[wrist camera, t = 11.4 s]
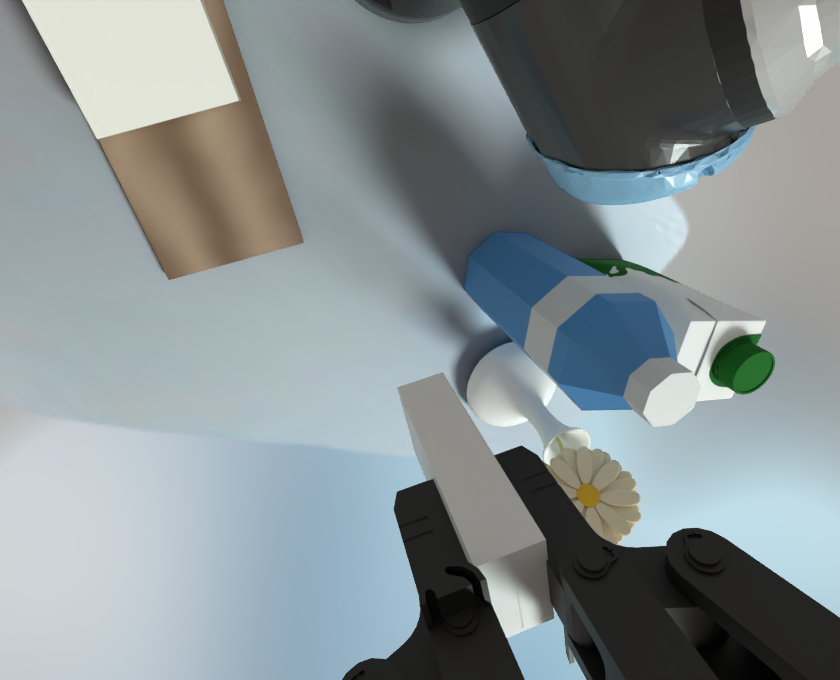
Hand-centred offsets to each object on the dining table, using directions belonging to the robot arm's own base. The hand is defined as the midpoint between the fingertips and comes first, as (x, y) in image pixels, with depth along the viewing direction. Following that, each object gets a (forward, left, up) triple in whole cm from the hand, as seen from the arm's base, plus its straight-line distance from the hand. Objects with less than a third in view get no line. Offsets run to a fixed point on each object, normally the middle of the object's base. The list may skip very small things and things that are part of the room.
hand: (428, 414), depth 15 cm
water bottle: (-16, +11, -33) cm, 38 cm away
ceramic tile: (+9, -10, -30) cm, 33 cm away
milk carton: (-26, +16, -33) cm, 45 cm away
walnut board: (+9, -10, -32) cm, 35 cm away
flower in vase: (-14, +24, -33) cm, 43 cm away
